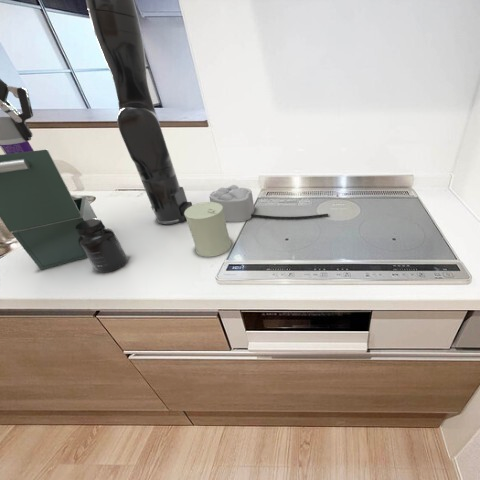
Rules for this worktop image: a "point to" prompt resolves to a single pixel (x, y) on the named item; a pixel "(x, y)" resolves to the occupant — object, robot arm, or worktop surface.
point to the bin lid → (33, 191)
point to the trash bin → (56, 239)
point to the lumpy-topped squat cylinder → (234, 202)
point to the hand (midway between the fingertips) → (12, 141)
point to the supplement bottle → (100, 245)
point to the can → (208, 228)
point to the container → (12, 137)
